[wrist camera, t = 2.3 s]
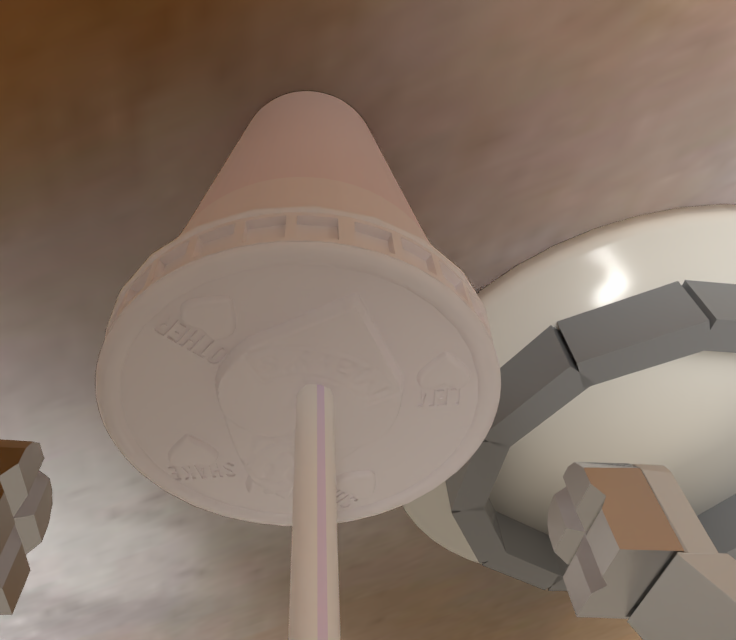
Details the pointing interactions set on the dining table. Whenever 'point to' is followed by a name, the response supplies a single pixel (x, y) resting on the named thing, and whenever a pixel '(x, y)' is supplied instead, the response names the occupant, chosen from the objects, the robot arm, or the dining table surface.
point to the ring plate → (602, 385)
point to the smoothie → (300, 347)
